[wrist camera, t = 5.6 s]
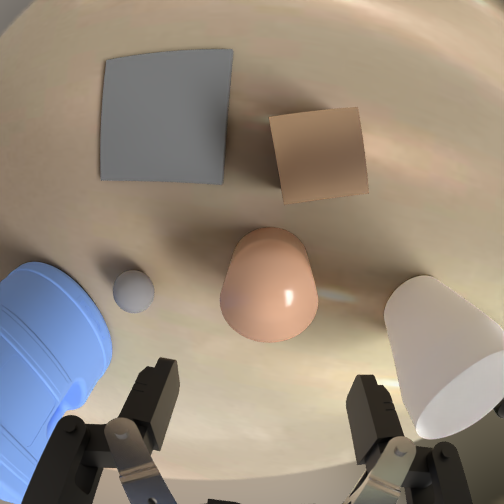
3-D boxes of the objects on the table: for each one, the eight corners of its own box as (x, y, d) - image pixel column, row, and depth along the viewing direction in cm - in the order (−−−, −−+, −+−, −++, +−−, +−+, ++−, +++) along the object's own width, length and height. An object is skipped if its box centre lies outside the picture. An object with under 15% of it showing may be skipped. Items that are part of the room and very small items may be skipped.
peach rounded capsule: (234, 223, 22) (221, 254, 17) (313, 231, 22) (326, 264, 16) (230, 292, 24) (218, 337, 19) (301, 299, 24) (308, 345, 19)
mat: (110, 61, 17) (106, 59, 17) (233, 51, 17) (232, 49, 17) (104, 179, 21) (100, 180, 21) (223, 183, 21) (221, 184, 20)
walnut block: (269, 121, 19) (268, 116, 15) (338, 113, 19) (357, 107, 14) (281, 189, 21) (284, 204, 16) (348, 179, 20) (368, 193, 16)
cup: (362, 283, 23) (413, 390, 12) (450, 248, 22) (534, 323, 10) (378, 355, 26) (411, 453, 15) (453, 323, 24) (508, 404, 13)
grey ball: (121, 261, 24) (102, 279, 21) (158, 265, 24) (142, 286, 21) (126, 296, 25) (109, 317, 22) (161, 301, 25) (147, 324, 22)
